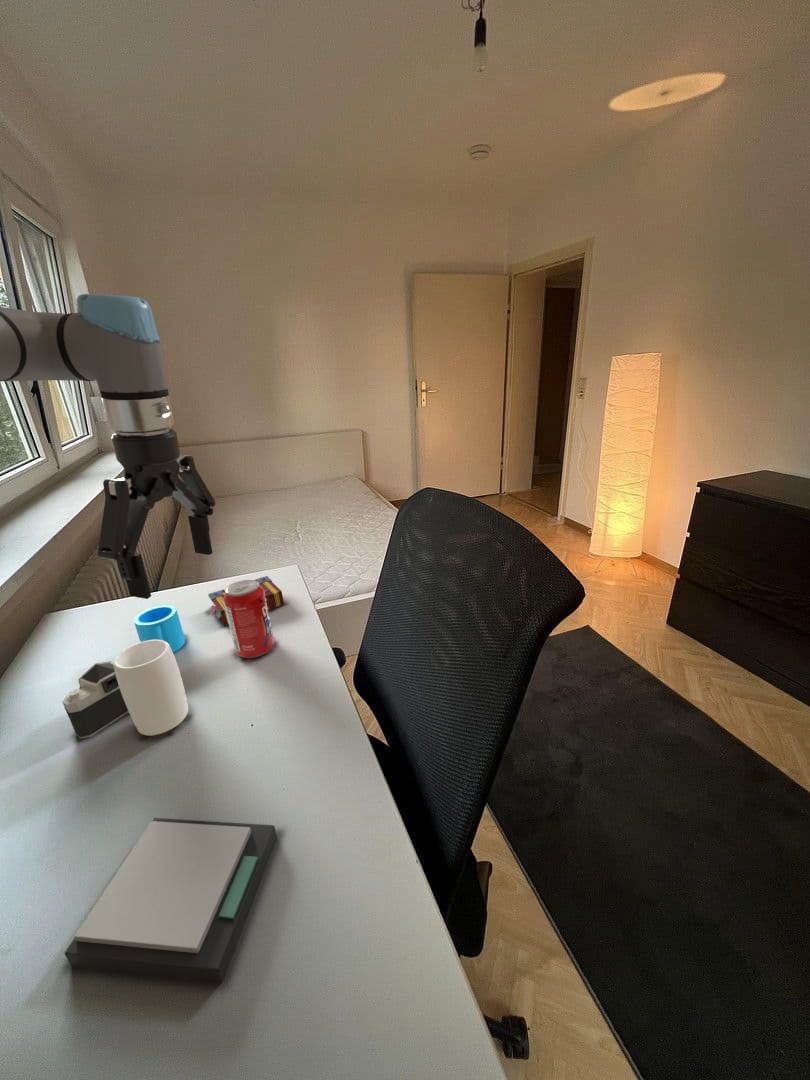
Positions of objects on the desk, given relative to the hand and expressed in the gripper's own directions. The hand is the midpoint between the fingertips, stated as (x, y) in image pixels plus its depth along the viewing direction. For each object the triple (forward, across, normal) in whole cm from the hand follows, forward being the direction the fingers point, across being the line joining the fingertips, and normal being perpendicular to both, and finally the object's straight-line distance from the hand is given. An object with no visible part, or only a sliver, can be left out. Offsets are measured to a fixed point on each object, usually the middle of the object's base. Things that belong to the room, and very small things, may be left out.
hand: (175, 572), depth 67 cm
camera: (+29, -2, +16) cm, 33 cm away
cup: (+28, -5, +4) cm, 28 cm away
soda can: (+28, +17, 0) cm, 33 cm away
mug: (+30, +13, +20) cm, 38 cm away
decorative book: (+30, +32, +12) cm, 46 cm away
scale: (+24, -27, -18) cm, 40 cm away
